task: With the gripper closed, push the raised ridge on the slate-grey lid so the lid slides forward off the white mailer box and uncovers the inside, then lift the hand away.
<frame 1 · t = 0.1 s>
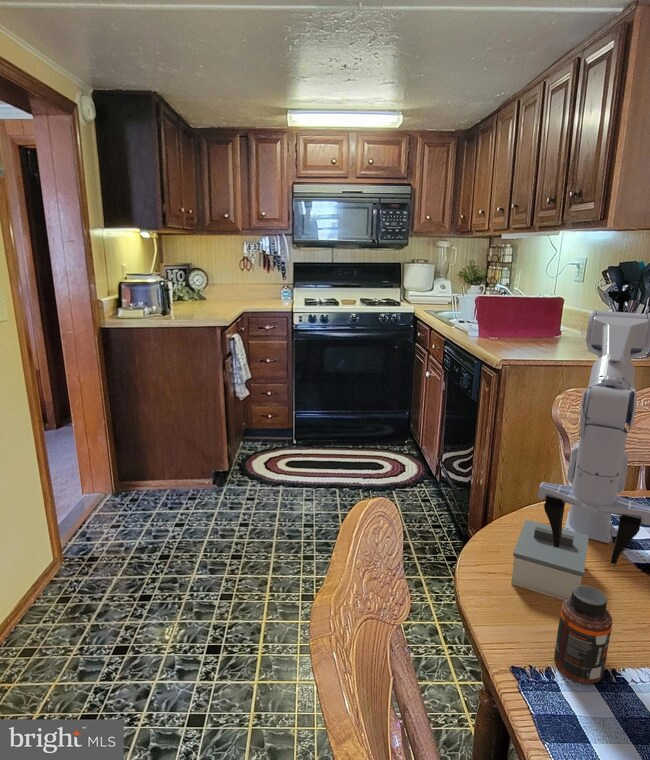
hand: (584, 552, 76), 10 cm above the table, tool pointing down, fingers open, 7 cm apart
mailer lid: (552, 541, 86), point 6 cm above the table, slide at 0.0 cm
supplement bottle: (577, 669, 68), on the table
mailer box: (548, 574, 87), on the table
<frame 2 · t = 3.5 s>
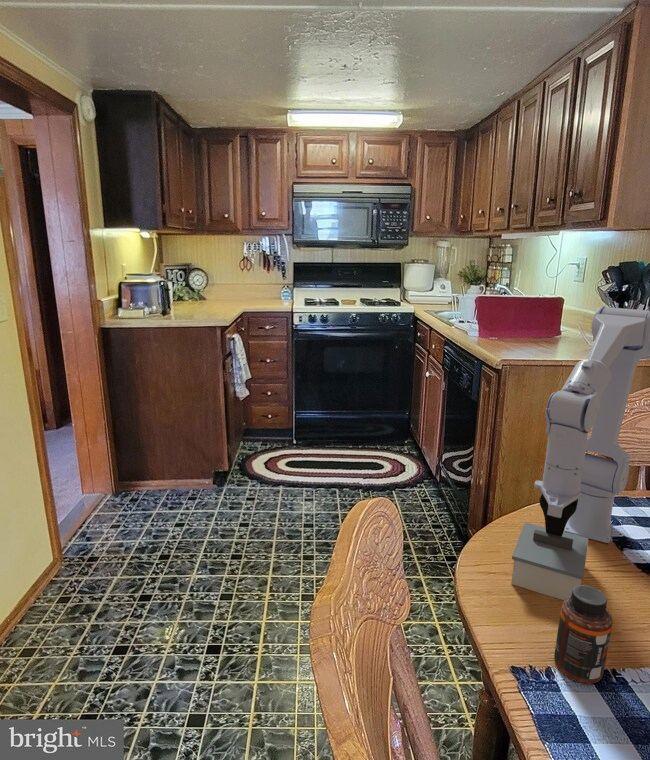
hand: (553, 536, 87), 6 cm above the table, tool pointing down, fingers closed
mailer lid: (551, 544, 85), point 6 cm above the table, slide at 1.1 cm, touching gripper
everything else where it was.
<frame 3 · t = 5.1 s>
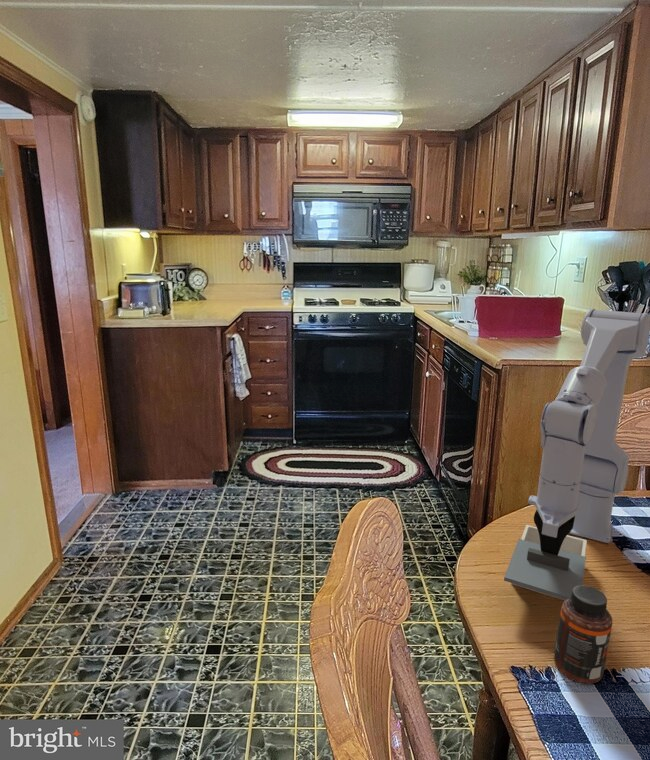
hand: (549, 555, 82), 6 cm above the table, tool pointing down, fingers closed
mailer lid: (546, 564, 79), point 6 cm above the table, slide at 7.5 cm, touching gripper
everything else where it was.
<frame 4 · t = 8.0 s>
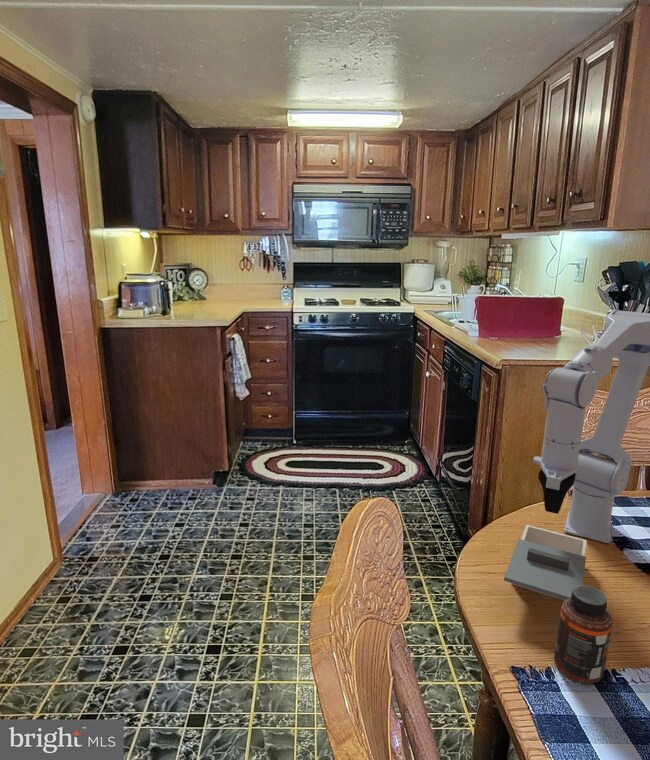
hand: (552, 510, 90), 9 cm above the table, tool pointing down, fingers closed
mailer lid: (546, 564, 79), point 6 cm above the table, slide at 7.5 cm
everything else where it was.
at the end: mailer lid slide at 7.5 cm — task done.
